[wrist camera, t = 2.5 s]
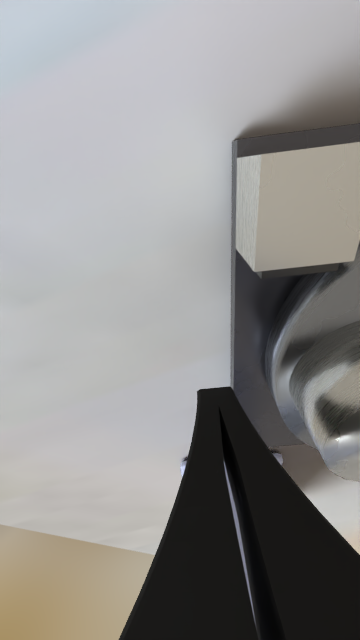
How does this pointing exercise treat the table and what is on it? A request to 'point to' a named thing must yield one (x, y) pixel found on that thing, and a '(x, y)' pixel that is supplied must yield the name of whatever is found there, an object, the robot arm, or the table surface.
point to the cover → (332, 398)
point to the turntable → (309, 330)
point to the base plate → (265, 302)
